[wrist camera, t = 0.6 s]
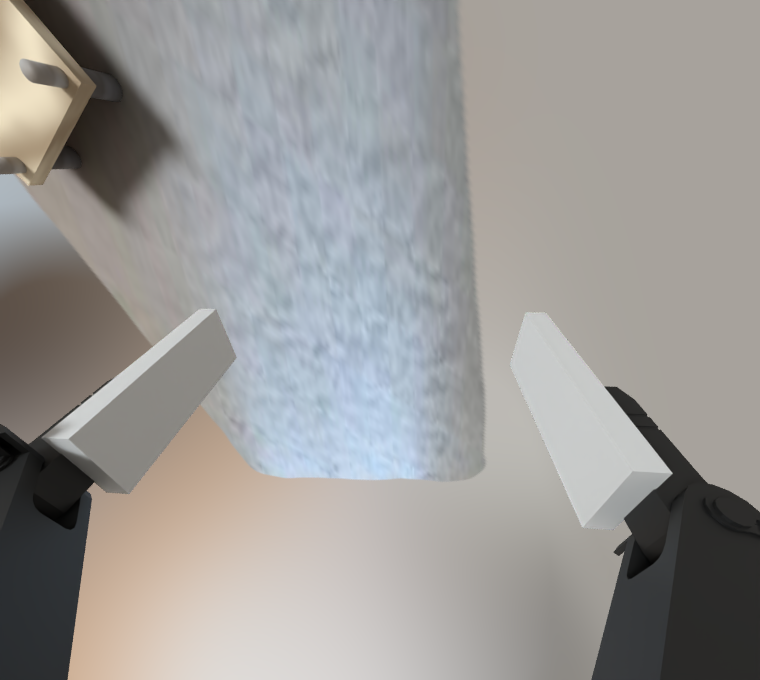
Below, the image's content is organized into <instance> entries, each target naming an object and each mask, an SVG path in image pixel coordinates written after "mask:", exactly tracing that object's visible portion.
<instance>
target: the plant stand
mask: <svg viewBox="0 0 760 680" xmlns="http://www.w3.org/2000/svg"><path fill="white" fill-rule="evenodd" d="M90 97H91V98H97V99H103V100H109V101H115V102H119V101H121V99H122V89H121V86H120V84H119V83H118V81H117V80H116V79H115V78H114V77H113V76H112V75H110V74H106V73H102V72H98V71H94V70H90V69H86V68H82V67H80V66H79V65H78V64H77V62H76V61H75V60H74V59H73V58H72V57H71V55H70V54H69V53H68V52H67V51H66V50H65V48H64V47H63V46H62V45H61V44H60V43H59V41H58V40H57V39H56V38H55V37H54V36H53V34H52V33H51V32H50V31H49V30H48V29H47V27H46V26H45V25H44V24H43V23H42V22H41V20H40V19H39V18H38V17H37V16H36V15H35V13H34V12H33V11H32V10H31V9H30V8H29V6H28V5H27V4H26V3H25V2H24V1H23V0H0V174H16V175H18V176H19V177H20V178H21V179H22V180H23V181H24V182H25V183H26V184H27V185H28V186H31V185H43V184H44V182H45V180H46V178H47V176H48V174H49V173H50V171H51V169H70V168H80V167H81V159H80V157H79V155H78V154H77V153H76V152H75V151H74V150H73V149H72V148H70V147H68V146H64V145H65V143H66V141H67V139H68V138H69V136H70V134H71V132H72V130H73V128H74V127H75V125H76V123H77V121H78V119H79V117H80V116H81V114H82V112H83V110H84V108H85V106H86V105H87V103H88V101H89V99H90Z"/></svg>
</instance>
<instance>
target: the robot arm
mask: <svg viewBox="0 0 760 680" xmlns="http://www.w3.org/2000/svg"><path fill="white" fill-rule="evenodd" d="M236 358H237V357H236V355H235V353H234V350H233V348H232V346H231V343H230V341H229V338H228V336H227V334H226V331H225V329H224V327H223V324H222V322H221V320H220V317H219V315H218V313H217V310H216V309H199V310H198V311H197V312H195V313H194V314H193V315H192V316H190V317H189V318H188V319H187V320H185V321H184V322H183V323H182V324H181V325H179V326H178V327H177V328H176V329H174V330H173V331H172V332H171V333H169V334H168V335H167V336H166V337H165V338H163V339H162V340H161V341H160V342H158V343H157V344H156V345H155V346H153V347H152V348H151V349H150V350H148V351H147V352H146V353H145V354H144V355H143V356H141V357H140V358H139V359H138V360H136V361H135V362H134V363H132V364H131V365H130V366H129V367H128V368H126V369H125V370H124V371H123V372H121V373H120V374H119V375H118V376H116V377H115V378H113V379H111V380H109V381H107V382H106V383H105V384H104V385H102V386H101V387H100V388H99V389H97V390H96V391H95V392H94V393H93V395H90V396H89V397H87V398H86V399H85V400H84V401H82V402H81V405H78V406H76V407H75V408H74V409H72V410H71V411H70V412H69V413H67V414H66V415H65V416H64V417H63V418H61V419H60V420H59V421H58V422H56V423H55V424H54V425H52V426H51V427H50V428H49V429H48V430H46V431H45V432H44V433H43V434H41V435H40V436H39V437H38V438H36V439H35V440H34V441H32V442H31V443H30V444H27V443H25V442H24V441H23V440H21V439H20V438H19V437H18V436H16V435H15V434H14V433H13V432H11V431H10V430H9V429H8V428H6V427H5V426H3V425H1V424H0V680H67V679H68V672H69V663H70V657H71V649H72V642H73V635H74V627H75V619H76V612H77V604H78V597H79V590H80V583H81V575H82V568H83V561H84V553H85V546H86V538H87V531H88V524H89V516H90V509H91V501H92V498H91V494H90V493H89V492H87V489H88V488H89V487H90V486H91V485H92V484H93V483H94V482H95V483H96V484H97V485H98V486H99V487H101V488H102V489H103V490H104V491H106V492H108V493H122V494H130V492H131V491H132V490H133V488H134V487H135V486H136V485H137V483H138V482H139V481H140V480H141V478H142V477H143V476H144V475H145V473H146V472H147V471H148V469H149V468H150V467H151V466H152V464H153V463H154V462H155V460H156V459H157V458H158V457H159V456H160V454H161V453H162V452H163V450H164V449H165V448H166V447H167V445H168V444H169V443H170V441H171V440H172V439H173V438H174V437H175V435H176V434H177V433H178V431H179V430H180V429H181V428H182V426H183V425H184V424H185V422H186V421H187V420H188V419H189V417H190V416H191V415H192V414H193V412H194V411H195V410H196V409H197V407H198V406H199V405H200V404H201V402H202V401H203V400H204V398H205V397H206V396H207V395H208V393H209V392H210V391H211V390H212V388H213V387H214V386H215V385H216V383H217V382H218V381H219V379H220V378H221V377H222V376H223V374H224V373H225V372H226V371H227V369H228V368H229V367H230V366H231V364H232V363H233V362H234V360H235V359H236ZM510 367H511V369H512V371H513V373H514V376H515V377H516V380H517V382H518V385H519V387H520V389H521V391H522V394H523V396H524V398H525V400H526V403H527V405H528V407H529V409H530V412H531V414H532V416H533V418H534V421H535V423H536V425H537V427H538V429H539V432H540V434H541V436H542V438H543V441H544V443H545V445H546V447H547V450H548V452H549V454H550V456H551V458H552V461H553V463H554V465H555V468H556V470H557V472H558V474H559V477H560V479H561V481H562V483H563V485H564V488H565V490H566V492H567V494H568V496H569V499H570V501H571V503H572V506H573V508H574V510H575V512H576V514H577V517H578V519H579V521H580V524H581V526H582V528H592V529H605V530H614V529H615V528H616V527H617V526H618V525H619V524H620V523H621V522H622V521H623V520H625V522H626V523H627V525H628V527H629V529H630V530H631V532H632V535H631V536H629V537H628V538H627V539H626V540H625V541H624V542H622V543H621V544H620V545H619V546H618V547H617V548H616V550H615V551H614V553H615V554H617V555H618V556H619V555H620V554H622V553H623V552H624V551H625V552H624V556H623V559H622V563H621V567H620V571H619V575H618V579H617V583H616V587H615V590H614V594H613V598H612V602H611V606H610V610H609V614H608V618H607V622H606V625H605V630H604V633H603V637H602V641H601V645H600V649H599V653H598V657H597V660H596V665H595V668H594V672H593V676H592V680H760V512H759V511H758V510H756V509H755V508H754V507H753V506H752V505H751V504H749V503H748V502H747V501H745V500H743V499H742V498H740V497H738V496H737V495H735V494H733V493H732V492H730V491H728V490H725V489H723V488H720V487H717V486H715V485H712V484H708V483H707V482H706V481H705V480H704V479H703V478H702V477H701V476H700V475H699V473H698V472H697V471H696V470H695V469H694V468H693V467H692V465H691V464H690V463H689V462H688V461H687V460H686V458H684V456H683V455H682V454H681V453H680V452H679V450H678V449H677V448H676V447H675V446H674V445H673V443H672V442H671V441H670V440H669V439H668V438H667V437H666V435H665V434H664V433H663V432H662V431H661V430H658V426H657V425H656V424H655V423H654V422H653V420H652V419H651V418H650V417H647V414H646V412H645V411H644V410H643V409H642V408H641V407H640V405H639V404H638V403H637V402H636V401H635V400H634V399H633V398H631V397H630V396H629V395H627V394H626V393H624V392H623V391H621V390H620V389H619V388H617V387H604V386H603V385H602V384H601V382H600V381H599V380H598V378H597V377H596V376H595V374H594V373H593V372H592V371H591V369H590V368H589V367H588V366H587V364H586V363H585V362H584V361H583V359H582V358H581V357H580V355H579V354H578V353H577V352H576V350H575V349H574V348H573V347H572V345H571V344H570V343H569V342H568V340H567V339H566V338H565V336H564V335H563V334H562V333H561V331H560V330H559V329H558V328H557V326H556V325H555V324H554V322H553V321H552V320H551V319H550V317H549V316H548V315H547V314H546V313H539V312H538V313H536V312H535V313H534V312H532V313H531V312H526V313H525V316H524V320H523V323H522V326H521V329H520V333H519V336H518V339H517V343H516V346H515V349H514V352H513V356H512V360H511V363H510Z"/></svg>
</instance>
